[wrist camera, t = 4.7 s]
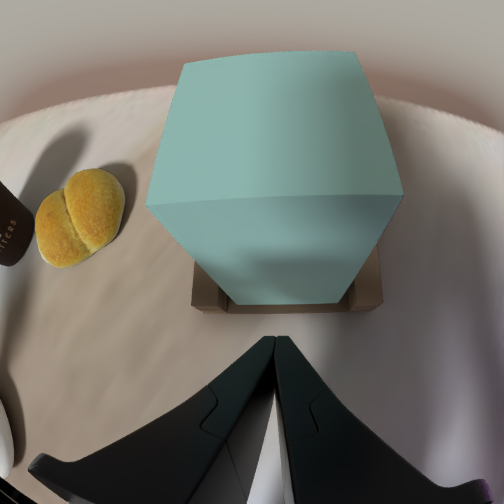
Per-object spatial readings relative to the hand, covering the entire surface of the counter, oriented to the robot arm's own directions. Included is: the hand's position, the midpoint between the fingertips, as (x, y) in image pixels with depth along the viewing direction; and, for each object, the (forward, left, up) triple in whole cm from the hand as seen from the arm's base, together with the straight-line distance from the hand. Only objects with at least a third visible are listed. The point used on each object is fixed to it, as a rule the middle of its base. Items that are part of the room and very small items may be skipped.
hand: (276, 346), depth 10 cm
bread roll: (+12, +15, -8) cm, 21 cm away
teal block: (+6, -1, -8) cm, 10 cm away
